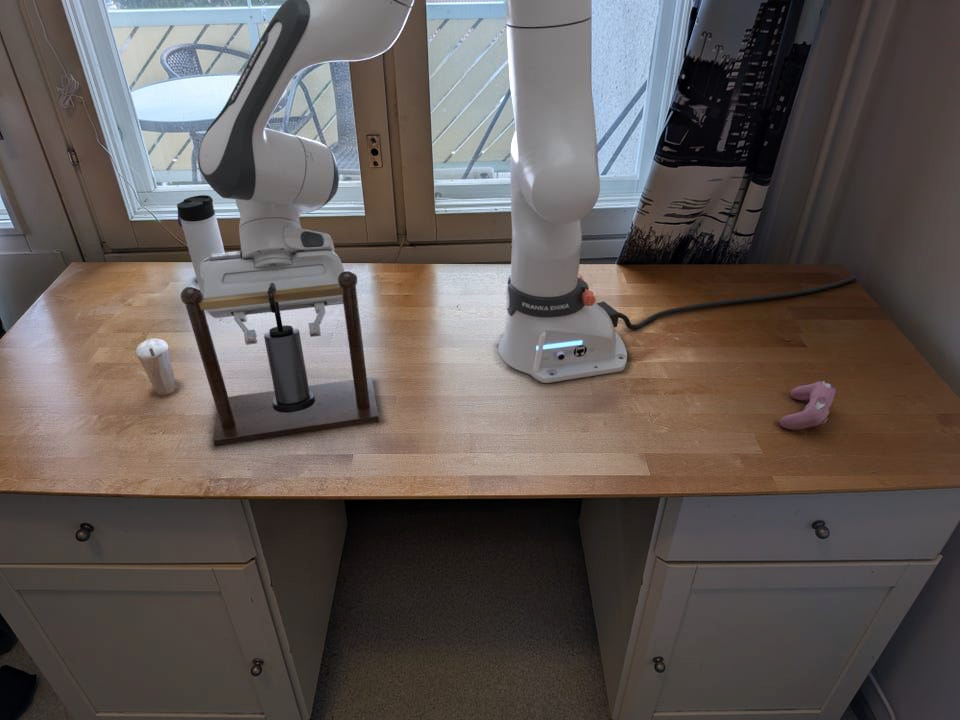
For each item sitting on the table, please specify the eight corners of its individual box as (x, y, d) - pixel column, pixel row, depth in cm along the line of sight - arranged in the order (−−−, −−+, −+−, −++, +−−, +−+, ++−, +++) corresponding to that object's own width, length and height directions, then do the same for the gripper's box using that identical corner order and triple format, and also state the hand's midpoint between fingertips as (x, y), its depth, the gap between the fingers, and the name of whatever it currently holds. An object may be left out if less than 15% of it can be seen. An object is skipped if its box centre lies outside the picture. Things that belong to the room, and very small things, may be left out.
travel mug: (225, 302, 128) (201, 206, 116) (195, 298, 129) (168, 202, 118) (241, 287, 133) (219, 193, 121) (211, 283, 134) (187, 190, 123)
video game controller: (800, 444, 98) (836, 420, 93) (775, 424, 99) (810, 399, 94) (811, 409, 105) (845, 385, 100) (788, 390, 106) (821, 365, 101)
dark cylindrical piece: (274, 399, 97) (251, 279, 91) (315, 393, 98) (295, 274, 92) (270, 422, 89) (245, 293, 83) (315, 415, 91) (293, 287, 84)
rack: (220, 404, 103) (179, 264, 88) (372, 383, 107) (357, 247, 93) (214, 446, 95) (169, 300, 80) (379, 421, 99) (363, 280, 85)
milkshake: (153, 404, 102) (133, 352, 97) (149, 385, 106) (131, 334, 100) (183, 395, 104) (166, 344, 98) (179, 378, 108) (162, 327, 102)
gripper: (192, 247, 90) (202, 344, 88) (341, 234, 94) (353, 326, 92) (203, 262, 96) (212, 352, 94) (342, 249, 100) (354, 335, 98)
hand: (283, 339), depth 93 cm, fingers open, 8 cm apart
